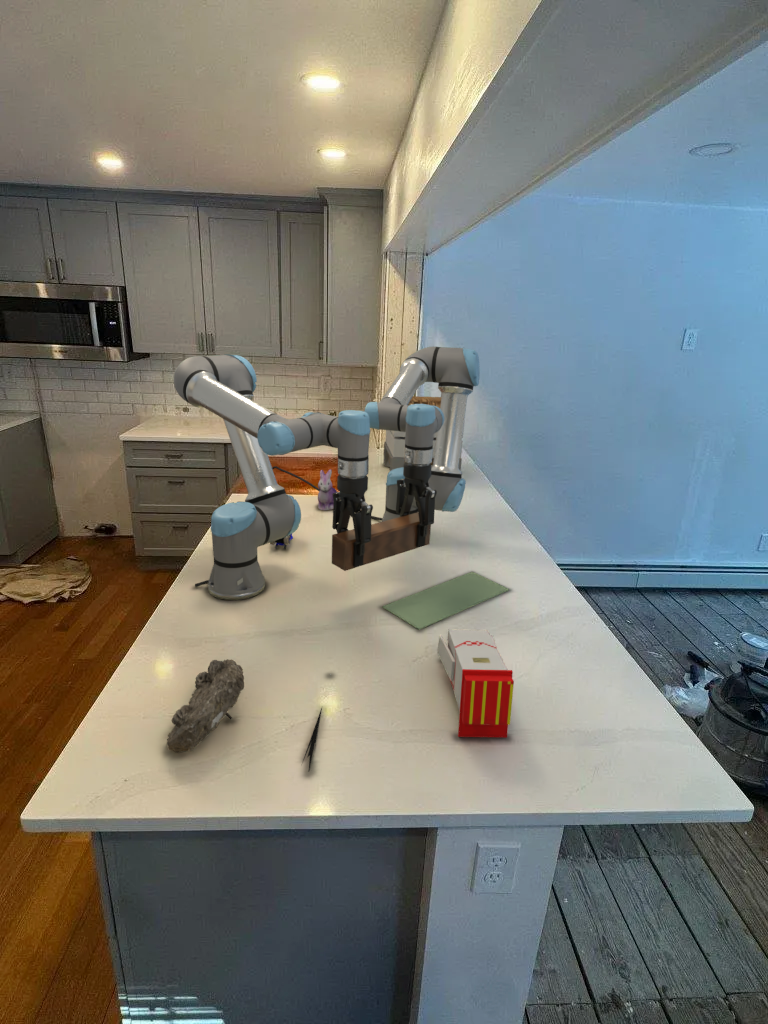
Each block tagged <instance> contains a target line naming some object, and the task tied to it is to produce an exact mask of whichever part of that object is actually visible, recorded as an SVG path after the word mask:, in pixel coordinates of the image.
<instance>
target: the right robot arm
mask: <svg viewBox="0 0 768 1024" xmlns="http://www.w3.org/2000/svg"><path fill="white" fill-rule="evenodd" d="M480 371H481V369H480V357H479V353H478V352H477V350H475V349H473V348H465V347H447V346H434V345H433V346H427V347H423V348H421V349H418V350H417V351H414V352H413V353H411V354H410V355H408V356H407V357H406V358H405V359H404V361H403V362H402V363H401V365H400V367H399V373H398V375H397V376H396V378H395V379H394V380H393V382H392V383H391V385H390V386H389V388H388V389H387V390H386V392H385V394H384V395H383V397H382V398H381V399H380V401H379V402H378V401H370V402H368V403H367V404H366V405H365V408H364V410H363V411H364V412H366V413H367V414H368V415H369V420H370V429H374V430H378V431H379V430H381V431H386V430H390V431H400V432H405V453H404V461H405V463H404V467H402V468H396V469H393V470H391V471H390V470H389V472H388V473H387V475H386V482H385V504H384V505H385V507H384V508H385V509H384V513H383V515H382V517H378V516H375V515H374V516H373V515H371V520H377V521H380V522H383V521H387V520H391V519H394V518H398V517H402V516H406V515H410V514H414V513H417V512H418V514H419V521H420V524H418V526H417V541H416V547H419V548H422V547H425V539H426V536H427V530H428V525H431V526H432V525H434V524H435V511H439V512H440V511H441V513H444V512H448V513H449V512H450V513H454V512H456V511H457V510H458V509H459V508H460V506H461V503H462V500H463V497H464V493H465V490H466V483H467V482H466V479H464V478H462V477H463V473H462V470H461V471H460V470H459V468H458V466H459V458H460V450H461V442H462V441H463V438H462V435H463V436H464V432H463V427H464V428H465V421H464V420H465V418H466V412H467V403H468V402H467V401H468V397H469V396H470V394H472V393H473V392H474V387H477V386H479V384H480ZM425 383H436V384H437V390H438V391H440V393H442V397H441V396H440V397H441V405H440V408H439V407H437V406H433V405H427V404H412V405H408V404H409V402H410V400H411V399H412V397H413V396H415V394H416V392H417V391H418V389H419V387H420V386H422V385H424V384H425ZM436 432H437V436H436V444H435V452H434V460H433V465H431V464H430V463H431V462H432V451H433V438H434V433H436ZM272 469H273V470H274V469H277V470H278V471H280V472H282V473H285V474H287V475H289V476H292V477H294V478H297V479H298V480H300V481H302V482H303V483H305V484H307V485H308V486H310V487H311V488H313V489H315V490H316V491H318V492H319V491H320V489H319V488H318V486H316V485H314V484H313V483H311V482H310V481H308V480H306V479H305V478H303V477H301V476H298V475H297V474H295V473H292V472H290V471H288V470H286V469H283V468H282V467H279V466H276V465H274V466H272ZM355 513H358V512H355ZM424 520H425V521H424Z"/></svg>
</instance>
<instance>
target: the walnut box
mask: <svg viewBox="0 0 768 1024" xmlns="http://www.w3.org/2000/svg"><path fill="white" fill-rule="evenodd" d="M424 521H425V520H424ZM418 524H420V521H419V514H418V512H417V513H414V514H410V515H406V516H402V517H398V518H394V519H391V520H387V521H383V522H382V521H380V522H375V523H371V542H368V543H365V553H364V558H363V565H361V566H358V567H353V551H354V542H356V538H355V532H354V528H353V529H348V530H349V531H345V532H341V533H337V532H336V533H334V534H331V564H332V565H334V566H336V567H337V568H339V569H340V570H341V571H344V572H346V571H350V570H352V569H356V568H359V567H362V566H366V565H368V564H372V563H375V562H378V561H381V560H384V559H387V558H392V557H394V556H397V555H400V554H402V553H406V552H410V551H413V550H416V549H420V547H416V541H417V526H418ZM431 527H432V524H431V525H428V530H427V536H426V539H425V546H429V545H430V542H431V530H432V528H431ZM425 546H424V547H425Z"/></svg>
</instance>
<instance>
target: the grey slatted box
mask: <svg viewBox="0 0 768 1024" xmlns="http://www.w3.org/2000/svg"><path fill="white" fill-rule="evenodd" d="M440 393H441V392H440ZM441 397H442V393H441V394H440V396H415V395H413V397H412V399H411V400H410V402H409V404H408V405H412V404H427V405H433V406H437V407H439V408H440V405H441ZM464 422H465V419H464ZM464 429H465V426H464V427H463V433H464V431H465V430H464ZM436 436H437V432H436V433H434V438H433V451H432V462H431V463H430V464H431V466H432V465H433V460H434V452H435V444H436ZM463 438H464V434H463V435H462V439H463ZM463 442H464V441H463V440H462V442H461V450H460V458H459V466H458V468H459V470H460V471H461V472H462V461H463V460H462V453H463ZM404 453H405V432H400V431H390V430H385V438H384V442H383V466H384V467H388V468H389V472H390V471H391V470H393V469H396V468H402V467H404V463H405V461H404Z"/></svg>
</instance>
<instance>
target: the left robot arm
mask: <svg viewBox="0 0 768 1024" xmlns="http://www.w3.org/2000/svg"><path fill="white" fill-rule="evenodd" d="M257 379H258V378H257V374H256V371H255V369H254V367H253V365H252V363H250V361H249V360H248V359H247V358H246V357H243V356H241V355H239V354H238V355H237V354H227V353H226V354H225V353H224V354H219V355H195V356H190V357H187V358H185V359H183V360H182V361H181V362H180V363H179V364H178V365H177V367H176V369H175V371H174V374H173V385H174V389H175V391H176V393H177V394H178V396H179V397H180V398H181V399H182V400H184V401H185V402H186V403H187V404H189V405H191V406H193V407H195V408H200V409H201V408H204V409H206V410H208V411H209V412H211V413H213V414H214V415H216V416H217V417H219V418H221V419H223V422H224V425H225V429H226V432H227V434H228V437H229V440H230V444H231V446H232V449H233V452H234V456H235V458H236V462H237V463H238V464H237V465H238V467H239V470H240V474H241V476H242V478H243V482H244V484H245V488H246V490H247V496H246V498H245V499H244V501H235V502H228V503H225V504H223V505H222V504H221V505H220V506H219V507H217V508H216V509H215V510H214V511H212V515H211V519H210V522H211V523H210V532H211V541H212V542H211V543H212V557H213V565H212V568H211V571H210V574H209V578H208V579H207V580H202V581H199V582H197V583H194V586H195V588H198V587H201V586H204V585H207V588H208V589H207V590H208V593H209V594H210V595H211V596H213V597H214V598H217V599H220V600H226V601H239V600H246V599H250V598H253V597H254V596H257V595H260V593H262V592H263V591H264V590H265V589H266V579H265V575H264V573H263V570H262V567H261V565H260V563H259V559H258V557H259V556H258V548H259V547H261V546H265V545H268V544H270V542H273V541H275V540H278V539H282V538H285V537H287V536H288V535H290V534H292V535H293V534H294V533H295V532H296V531H297V530H298V529H299V527H300V524H301V520H302V510H301V507H300V504H299V502H298V501H297V499H296V498H294V496H292V495H290V494H287V492H286V488H285V487H283V486H282V485H279V484H278V481H277V478H276V476H275V472H274V469H272V467H273V466H272V463H271V461H270V458H269V456H284V455H287V454H290V453H294V452H298V451H302V450H308V449H313V448H316V447H322V446H325V447H330V448H335V449H337V474H338V475H337V477H336V479H337V481H336V487H337V488H336V490H338V491H337V492H336V493H333V494H332V495H333V501H334V504H333V509H332V529H333V530H336V534H337V533H341V532H345V531H349V530H350V529H349V528H348V527H349V524H350V523H349V522H350V518H352V524H353V529H354V532H355V538H356V542H354V551H353V567H356V568H359V567H362V566H364V565H363V558H364V553H365V543H368V542H371V524H372V518H371V516H372V514H373V509H374V506H373V504H368V503H367V502H366V498H365V494H366V493H367V491H368V489H369V477H368V476H367V475H369V467H370V466H369V463H370V462H369V461H370V460H369V459H370V457H369V450H370V449H369V448H370V436H371V435H370V434H371V428H370V420H369V415H368V414H367V413H366V412H364V411H365V410H355V409H345V410H341V411H339V413H338V415H337V416H335V415H330V414H325V413H322V412H312V411H308V412H306V413H304V414H303V415H302V416H301V417H296V418H290V419H289V418H286V417H284V416H282V415H280V414H278V413H276V412H274V411H272V410H270V409H269V408H266V407H265V406H263V405H261V403H260V404H259V403H257V402H256V401H254V398H255V395H254V392H255V391H256V389H257V384H256V383H257ZM355 512H358V513H355ZM361 565H362V566H361ZM358 566H359V567H358Z"/></svg>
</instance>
